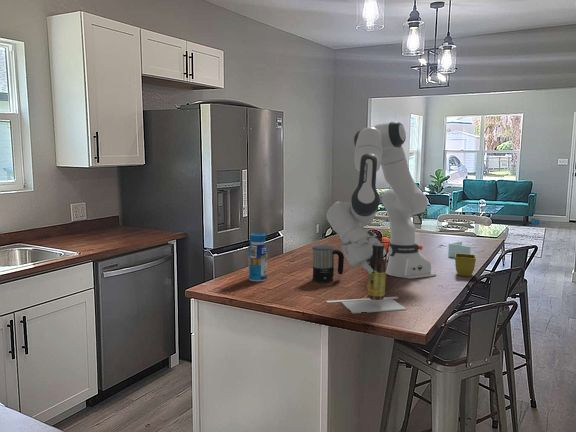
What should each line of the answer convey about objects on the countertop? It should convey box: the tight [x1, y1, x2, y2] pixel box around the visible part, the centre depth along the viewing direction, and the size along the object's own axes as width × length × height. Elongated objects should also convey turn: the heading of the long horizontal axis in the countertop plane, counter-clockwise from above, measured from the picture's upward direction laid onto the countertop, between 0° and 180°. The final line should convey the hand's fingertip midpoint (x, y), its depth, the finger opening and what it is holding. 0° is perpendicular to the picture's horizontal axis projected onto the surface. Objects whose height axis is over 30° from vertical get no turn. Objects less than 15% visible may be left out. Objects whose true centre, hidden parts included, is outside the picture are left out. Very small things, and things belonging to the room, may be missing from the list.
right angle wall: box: [447, 240, 472, 259], centre depth 266 cm, size 12×12×8 cm
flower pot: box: [454, 253, 477, 277], centre depth 225 cm, size 9×9×9 cm
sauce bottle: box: [366, 243, 387, 300], centre depth 178 cm, size 7×6×20 cm
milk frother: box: [311, 244, 345, 284], centre depth 218 cm, size 14×16×15 cm
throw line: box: [326, 296, 399, 304], centre depth 186 cm, size 28×2×1 cm, turn 102°
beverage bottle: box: [247, 232, 268, 282], centre depth 215 cm, size 8×8×20 cm
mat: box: [341, 299, 407, 314], centre depth 179 cm, size 20×12×1 cm, turn 102°
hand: (378, 270), depth 177 cm, fingers closed on sauce bottle, 6 cm apart
